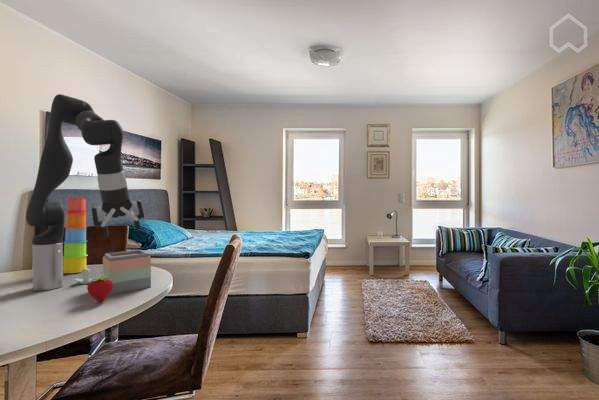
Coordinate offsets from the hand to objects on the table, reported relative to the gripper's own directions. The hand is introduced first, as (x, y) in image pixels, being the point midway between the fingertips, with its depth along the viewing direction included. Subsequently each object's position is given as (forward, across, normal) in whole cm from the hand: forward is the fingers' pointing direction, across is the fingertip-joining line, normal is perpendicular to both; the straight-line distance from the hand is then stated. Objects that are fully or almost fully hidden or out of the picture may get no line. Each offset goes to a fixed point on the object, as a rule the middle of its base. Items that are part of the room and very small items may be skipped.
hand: (122, 233), depth 103 cm
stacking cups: (+36, +23, -54) cm, 69 cm away
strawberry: (+23, +10, 0) cm, 25 cm away
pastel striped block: (+28, +2, -14) cm, 32 cm away
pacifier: (+30, +16, -30) cm, 46 cm away
